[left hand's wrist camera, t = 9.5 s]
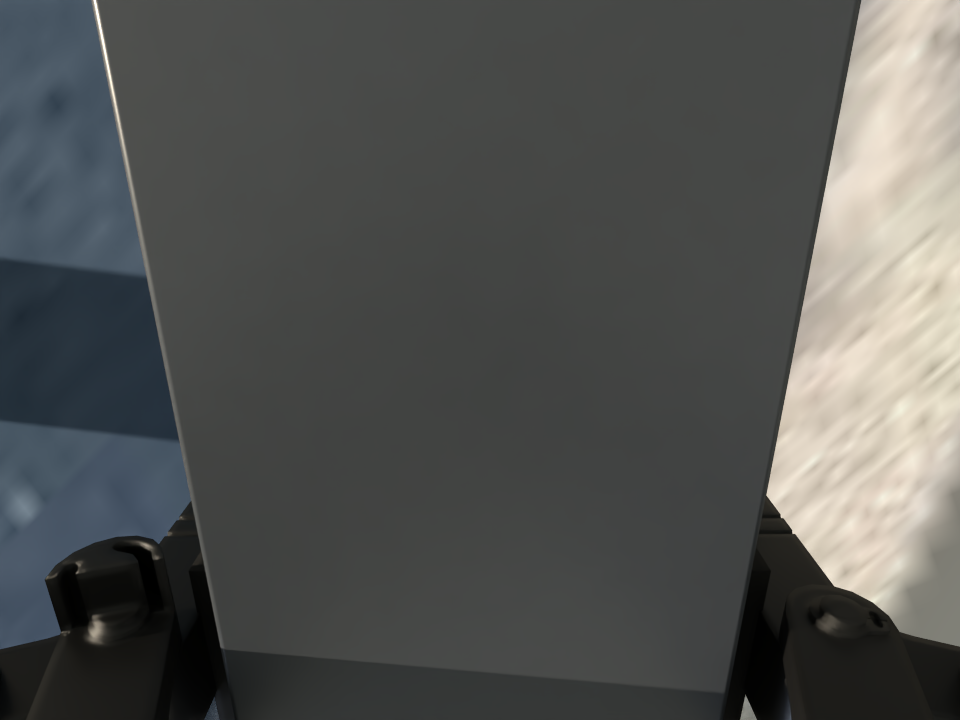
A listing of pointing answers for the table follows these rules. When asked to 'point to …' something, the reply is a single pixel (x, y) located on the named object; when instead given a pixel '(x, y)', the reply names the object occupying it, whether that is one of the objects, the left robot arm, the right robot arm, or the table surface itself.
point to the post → (477, 333)
